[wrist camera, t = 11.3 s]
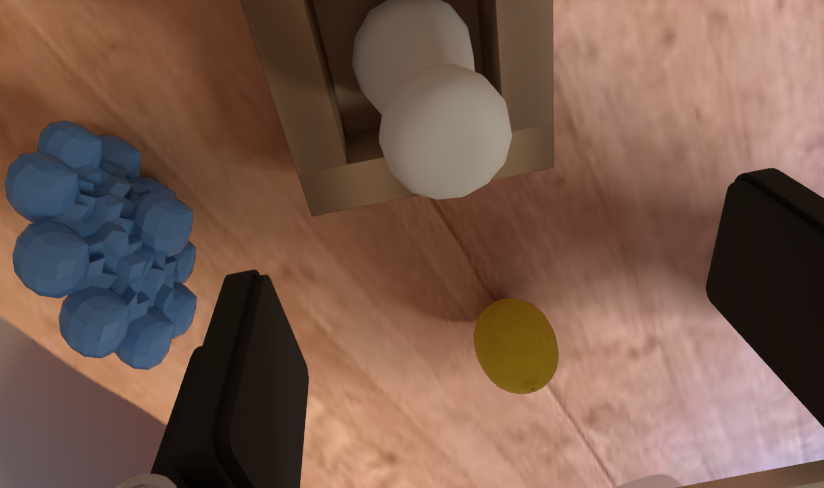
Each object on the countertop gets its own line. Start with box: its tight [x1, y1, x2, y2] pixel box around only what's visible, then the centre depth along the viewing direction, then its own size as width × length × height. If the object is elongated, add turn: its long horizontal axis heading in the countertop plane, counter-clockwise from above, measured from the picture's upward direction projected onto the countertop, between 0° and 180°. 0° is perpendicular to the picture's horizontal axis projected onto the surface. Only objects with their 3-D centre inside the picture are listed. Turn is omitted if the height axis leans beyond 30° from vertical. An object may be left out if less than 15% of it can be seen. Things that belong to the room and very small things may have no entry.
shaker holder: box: [240, 0, 554, 216], centre depth 25 cm, size 13×13×5 cm
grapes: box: [5, 121, 197, 370], centre depth 25 cm, size 12×7×12 cm, turn 21°
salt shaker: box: [352, 0, 512, 200], centre depth 21 cm, size 6×6×13 cm
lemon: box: [474, 298, 559, 394], centre depth 35 cm, size 6×6×8 cm
